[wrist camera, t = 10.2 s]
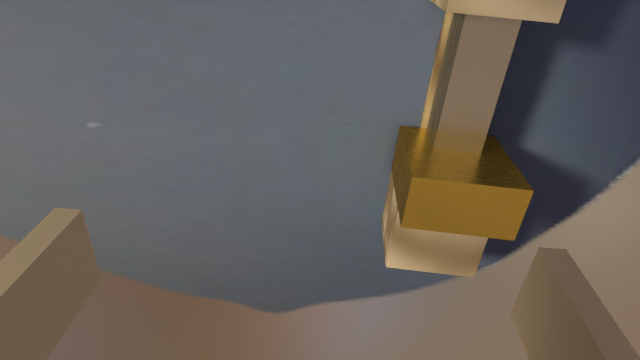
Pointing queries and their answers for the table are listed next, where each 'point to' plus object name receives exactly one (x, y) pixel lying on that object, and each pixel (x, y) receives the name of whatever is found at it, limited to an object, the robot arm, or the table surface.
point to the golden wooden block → (463, 141)
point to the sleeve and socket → (412, 244)
